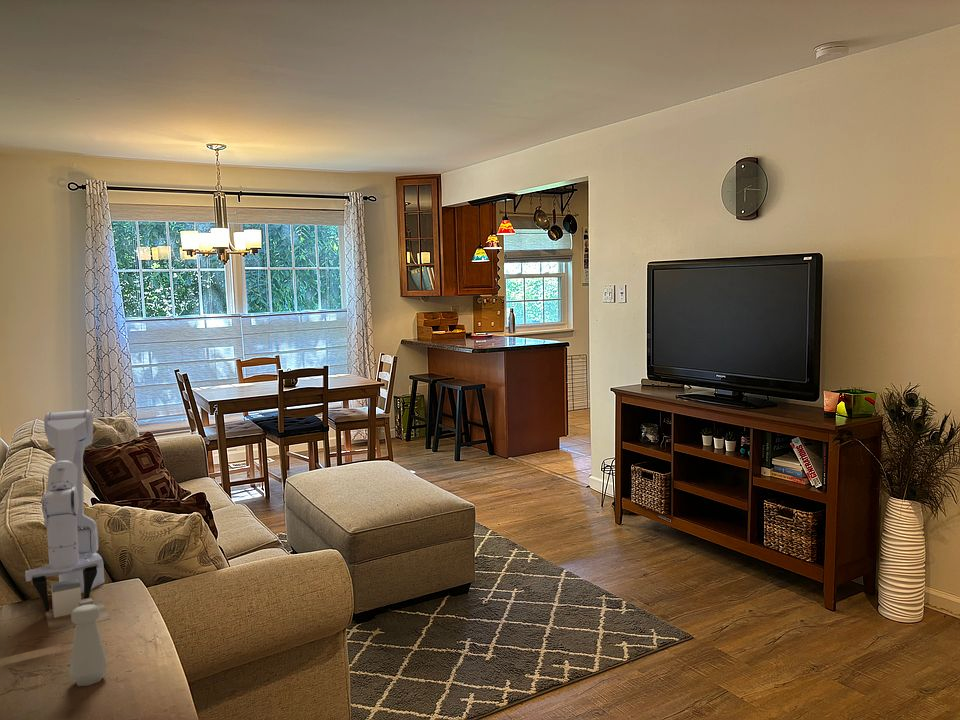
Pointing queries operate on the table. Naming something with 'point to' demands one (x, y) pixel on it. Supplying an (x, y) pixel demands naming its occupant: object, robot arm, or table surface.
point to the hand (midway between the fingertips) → (67, 606)
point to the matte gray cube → (65, 597)
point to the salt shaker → (87, 647)
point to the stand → (65, 620)
